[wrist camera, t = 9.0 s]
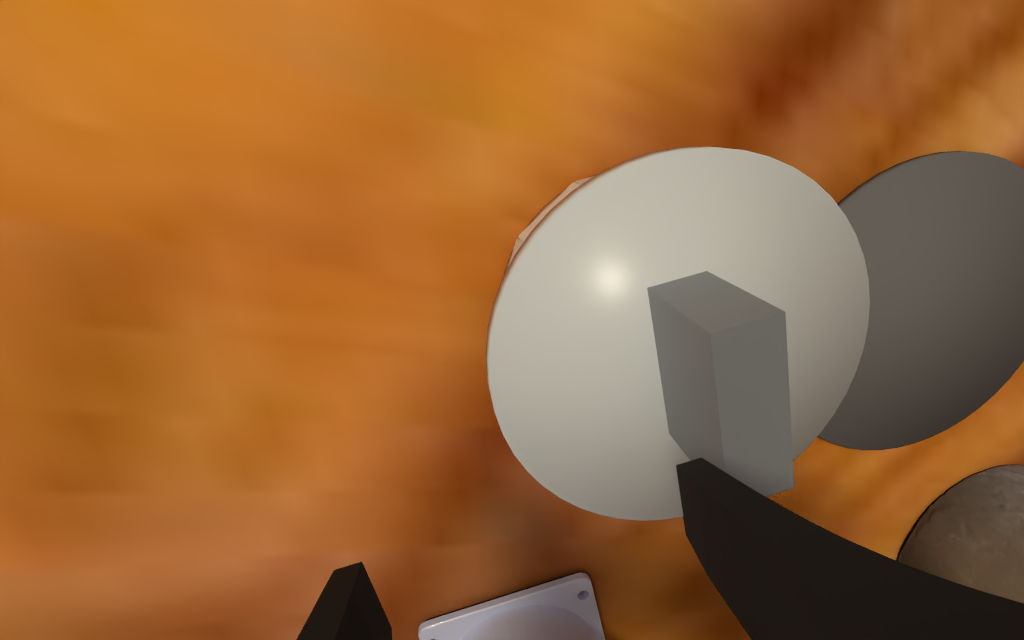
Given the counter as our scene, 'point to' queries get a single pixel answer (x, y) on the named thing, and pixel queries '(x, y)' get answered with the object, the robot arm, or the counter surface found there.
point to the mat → (934, 296)
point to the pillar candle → (975, 534)
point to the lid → (676, 329)
